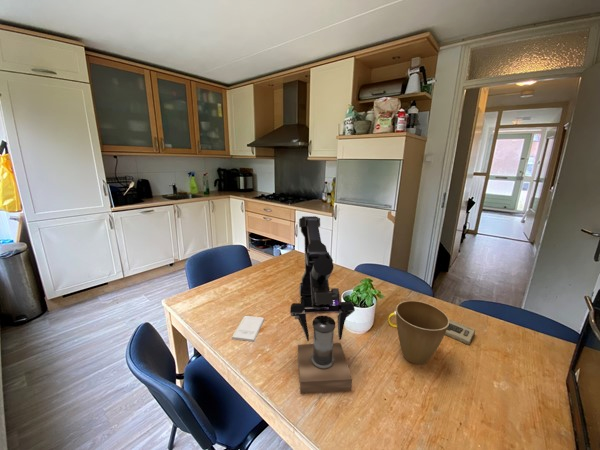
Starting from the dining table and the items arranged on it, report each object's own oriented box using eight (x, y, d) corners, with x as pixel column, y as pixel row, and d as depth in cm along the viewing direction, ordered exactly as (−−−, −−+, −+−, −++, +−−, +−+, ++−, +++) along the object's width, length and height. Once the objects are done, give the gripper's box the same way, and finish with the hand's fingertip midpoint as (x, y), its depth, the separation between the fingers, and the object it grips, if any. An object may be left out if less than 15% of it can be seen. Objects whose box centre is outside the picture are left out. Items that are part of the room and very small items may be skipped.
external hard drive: (264, 321, 100) (254, 343, 88) (244, 319, 101) (231, 340, 90) (264, 317, 100) (253, 339, 88) (244, 315, 101) (231, 336, 89)
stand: (297, 355, 82) (297, 344, 81) (339, 353, 83) (340, 342, 82) (300, 393, 69) (300, 381, 68) (351, 391, 70) (352, 379, 69)
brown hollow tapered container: (381, 347, 86) (385, 306, 82) (414, 336, 92) (419, 296, 88) (416, 382, 73) (424, 335, 69) (452, 366, 78) (461, 321, 74)
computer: (421, 326, 98) (422, 318, 97) (429, 317, 104) (430, 310, 103) (468, 347, 87) (470, 339, 86) (474, 336, 93) (475, 328, 92)
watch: (403, 326, 97) (406, 313, 96) (403, 331, 95) (406, 317, 93) (387, 322, 99) (390, 309, 98) (387, 326, 97) (389, 313, 95)
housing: (318, 348, 80) (319, 312, 76) (337, 358, 76) (340, 320, 73) (306, 362, 74) (307, 324, 71) (327, 373, 71) (329, 333, 67)
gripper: (290, 278, 72) (292, 338, 64) (355, 277, 73) (364, 335, 66) (289, 289, 82) (291, 342, 74) (346, 288, 83) (353, 340, 75)
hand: (324, 340), depth 72 cm, fingers open, 9 cm apart
